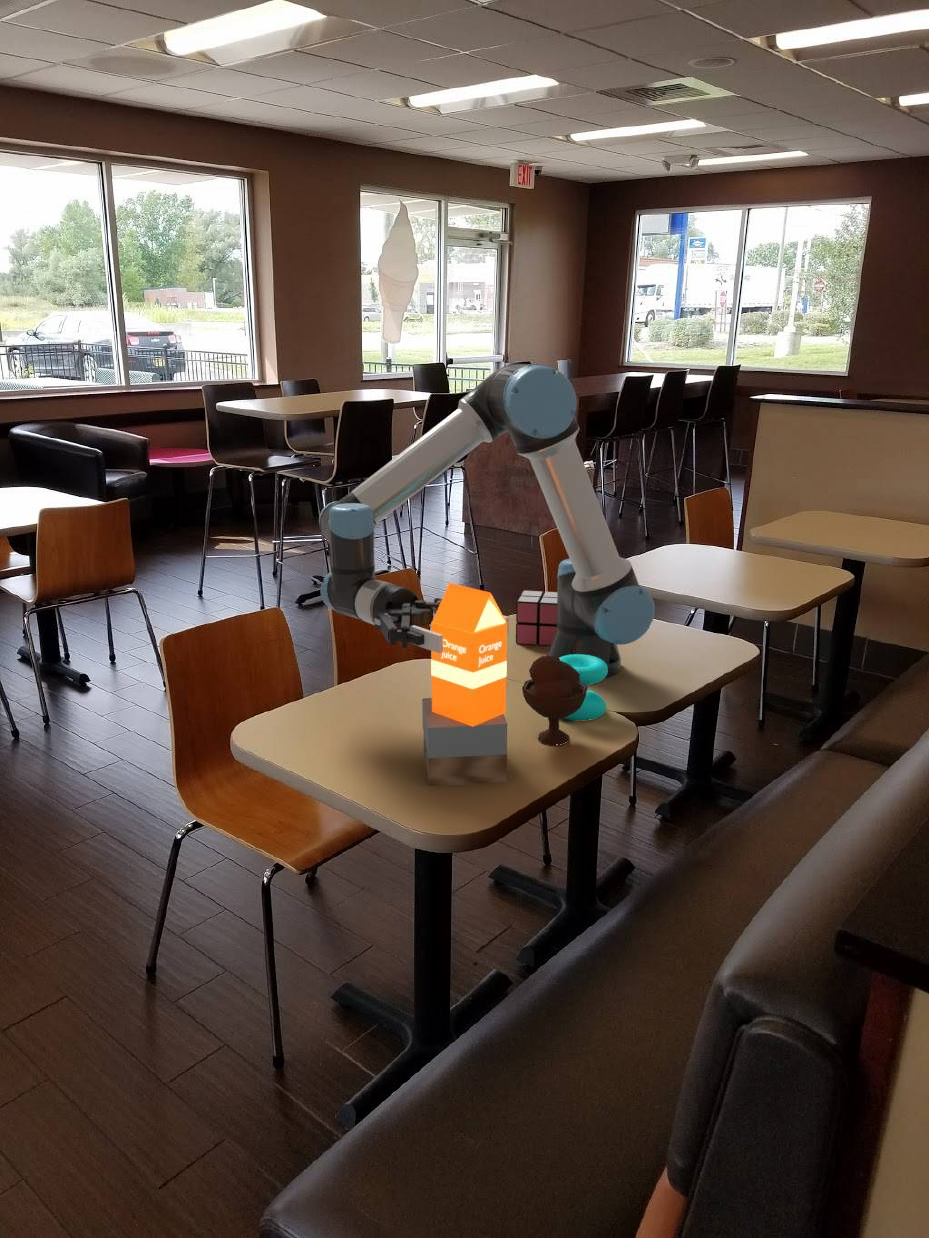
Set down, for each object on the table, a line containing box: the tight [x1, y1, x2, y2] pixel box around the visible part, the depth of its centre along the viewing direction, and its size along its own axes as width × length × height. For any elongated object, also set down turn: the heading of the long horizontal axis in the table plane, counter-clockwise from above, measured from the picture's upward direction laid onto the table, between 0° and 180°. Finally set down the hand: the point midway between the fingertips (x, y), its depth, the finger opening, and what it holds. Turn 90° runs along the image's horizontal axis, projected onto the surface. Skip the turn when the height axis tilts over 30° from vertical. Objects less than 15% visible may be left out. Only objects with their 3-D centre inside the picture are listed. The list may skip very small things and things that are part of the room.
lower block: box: [423, 736, 508, 787], centre depth 147 cm, size 12×12×5 cm
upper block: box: [421, 697, 508, 758], centre depth 146 cm, size 12×12×5 cm
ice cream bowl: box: [521, 654, 589, 746], centre depth 156 cm, size 11×11×15 cm
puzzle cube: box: [515, 590, 557, 647], centre depth 210 cm, size 10×10×10 cm
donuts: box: [559, 654, 608, 721], centre depth 168 cm, size 10×10×10 cm
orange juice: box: [430, 582, 508, 727], centre depth 142 cm, size 8×9×20 cm
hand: (475, 634), depth 140 cm, fingers open, 13 cm apart
